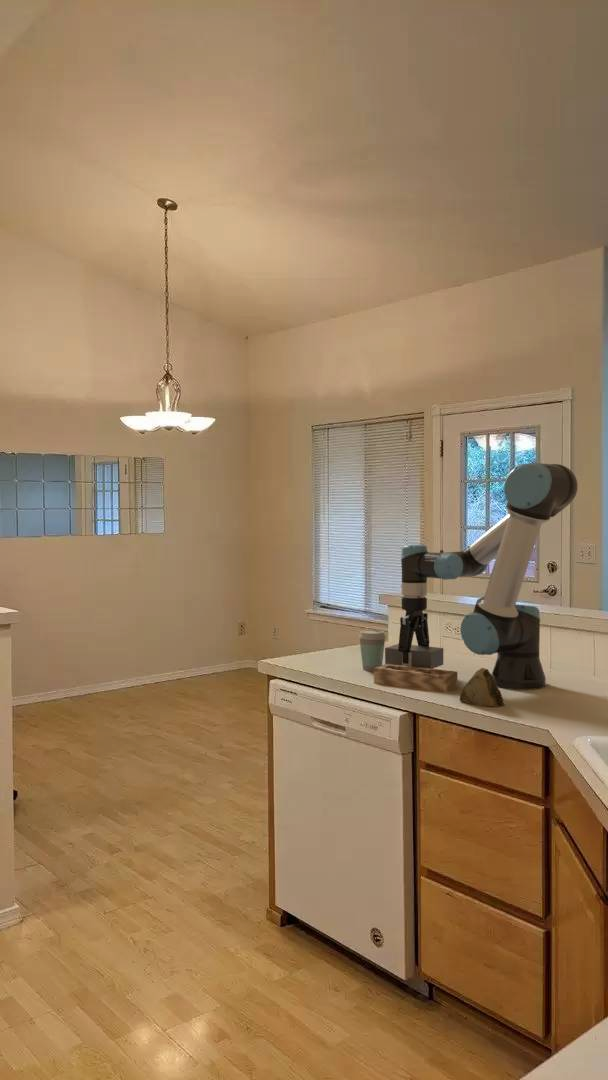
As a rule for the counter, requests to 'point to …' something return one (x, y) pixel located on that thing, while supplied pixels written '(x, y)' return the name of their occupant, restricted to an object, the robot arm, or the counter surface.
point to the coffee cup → (372, 648)
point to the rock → (482, 690)
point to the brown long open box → (415, 677)
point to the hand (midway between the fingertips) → (414, 671)
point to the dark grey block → (416, 656)
